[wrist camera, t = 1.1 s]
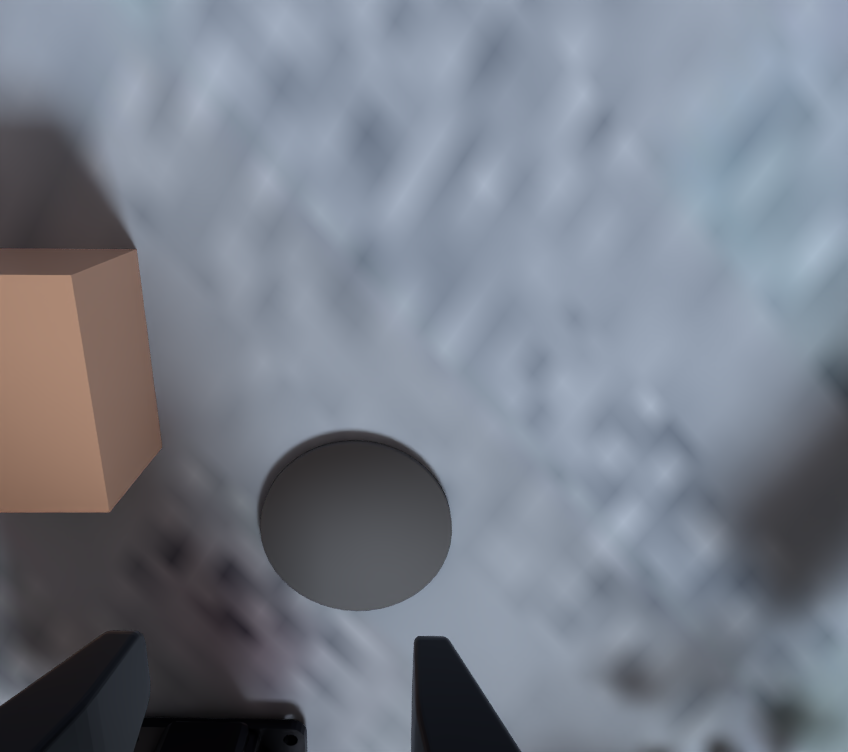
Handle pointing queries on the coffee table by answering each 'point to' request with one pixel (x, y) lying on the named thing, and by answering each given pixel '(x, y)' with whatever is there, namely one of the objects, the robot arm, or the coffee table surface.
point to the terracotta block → (73, 379)
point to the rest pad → (356, 525)
